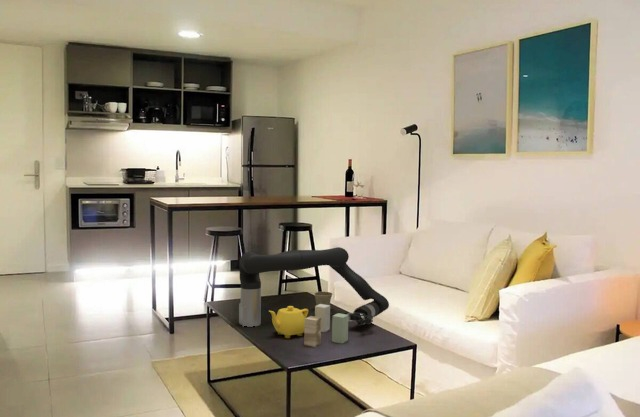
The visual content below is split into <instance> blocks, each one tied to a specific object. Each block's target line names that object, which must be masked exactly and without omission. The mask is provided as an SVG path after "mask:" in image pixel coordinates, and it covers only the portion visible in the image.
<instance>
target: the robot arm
mask: <svg viewBox="0 0 640 417" xmlns="http://www.w3.org/2000/svg"><path fill="white" fill-rule="evenodd" d="M349 258H350V255H349V253H348V251H347V250H346V249H345V248H343V247H338V246H336V247H333V248H327V249H295V250H286V251H283V252H279V253H276V254H258V253H255V252H252V251H247V252H246V251H245V252H244V253H243V254H242V255H241V256H240V259H239V281H240V302H239V303H238V324H239V325H240V326H241V325H242V326H241V327H242V328H244V326H247V327H246V328H251V327H252V328H253V326H255V327H258V326H261V321H262V320H261V314H262V313H261V312H262V311H261V310H262V308H261V306H262V305H261V304H262V281H261V277H260V274H261V273H267V272H271V271H272V272H275V271H279V272H280V271H281V272H284V271H285V272H286V271H299V270H307V269H312V268H317V267H321V266H329V267H330V268H331V269H332V270H333V271H334V272H336V273H337V274H339V275H340V277H342V278H343V280H345V281H346V282H347V283H348V284H349V285H350V287H352V289H353V290H354V291H355V292H356V293H357V295H359V297H360V298H361V299H362V300H363V301H368V300H372V301H370V302H368V303H366V304H363V305H361V306H359V307H356V308H355V309H354V311H353V312H348V311H344V312H341V314H346V315H348V322H356V323H357V326H359V327H360V326H362V325H365V324H366V325H367V326H369V325H370V324H371V323H373V322H374V318H376V317H377V316H379V315H380V314H382V313H383V312H385V311H386V310H388V309H389V308H390V303H389V300H388V299H387V298H386V297H385V296H384V295H382V294H381V293H379V292H378V291H376V290H375V289H374V288H373V287H372V286H371V285H370V284H369V283H368V281H366V279H365V278H363V276H361V275H360V274H359V273H357V272H356V271H354V270H353V269H352V268H351V267H350V266H349V265H348V264H347V262H348V260H349Z"/></svg>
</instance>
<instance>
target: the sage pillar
mask: <svg viewBox="0 0 640 417" xmlns="http://www.w3.org/2000/svg"><path fill="white" fill-rule="evenodd" d="M331 317H332V320H331V321H332V322H331V324H332V325H331V326H332V328H331V342H333V343H337V344H344V343H346V342H347V341H349V321H348V315H346V314H342V313H339V312H338V313H335V314H334V315H332V316H331Z"/></svg>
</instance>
